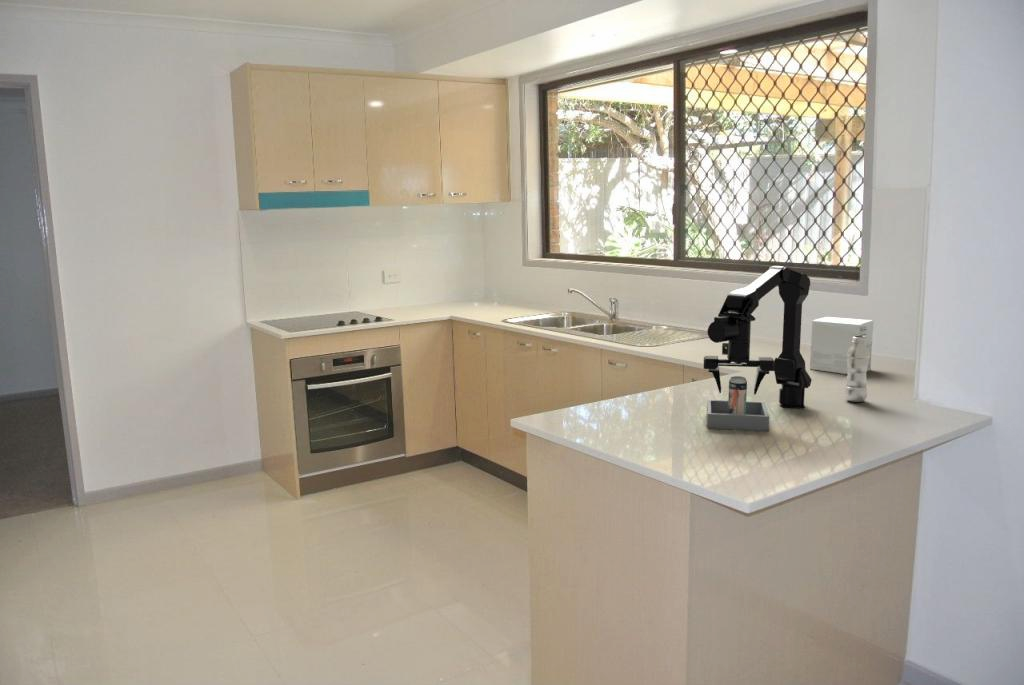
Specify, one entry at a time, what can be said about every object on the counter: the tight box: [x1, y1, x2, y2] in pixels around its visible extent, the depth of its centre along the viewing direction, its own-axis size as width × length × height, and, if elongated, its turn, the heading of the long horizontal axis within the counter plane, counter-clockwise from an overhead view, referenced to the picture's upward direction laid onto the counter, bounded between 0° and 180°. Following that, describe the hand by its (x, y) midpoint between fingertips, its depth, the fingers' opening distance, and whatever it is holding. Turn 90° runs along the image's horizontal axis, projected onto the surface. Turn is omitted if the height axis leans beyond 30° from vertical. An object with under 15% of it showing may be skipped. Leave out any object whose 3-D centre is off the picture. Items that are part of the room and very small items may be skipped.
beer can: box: [727, 375, 748, 415], centre depth 224 cm, size 5×5×12 cm
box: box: [706, 399, 770, 432], centre depth 225 cm, size 16×16×4 cm
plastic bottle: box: [843, 336, 870, 403], centre depth 243 cm, size 6×7×20 cm
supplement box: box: [809, 316, 874, 375], centre depth 288 cm, size 17×13×18 cm
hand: (737, 393), depth 224 cm, fingers open, 9 cm apart
